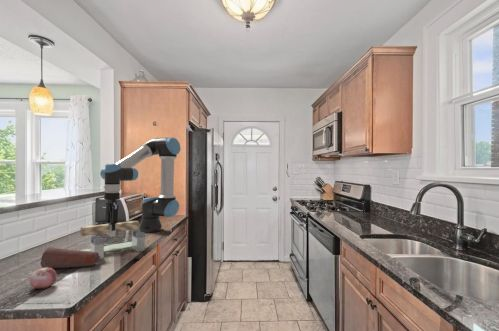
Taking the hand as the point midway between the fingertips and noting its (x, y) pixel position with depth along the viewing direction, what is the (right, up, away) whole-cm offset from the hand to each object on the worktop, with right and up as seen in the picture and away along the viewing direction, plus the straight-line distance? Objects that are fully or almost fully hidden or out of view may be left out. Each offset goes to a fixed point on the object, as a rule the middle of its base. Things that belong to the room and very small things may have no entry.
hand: (111, 235), depth 150 cm
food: (-3, -7, -29) cm, 30 cm away
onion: (0, -7, -49) cm, 50 cm away
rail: (0, +2, 0) cm, 2 cm away
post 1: (+1, -7, -15) cm, 17 cm away
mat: (0, -7, 0) cm, 7 cm away
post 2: (+15, -7, -1) cm, 17 cm away
